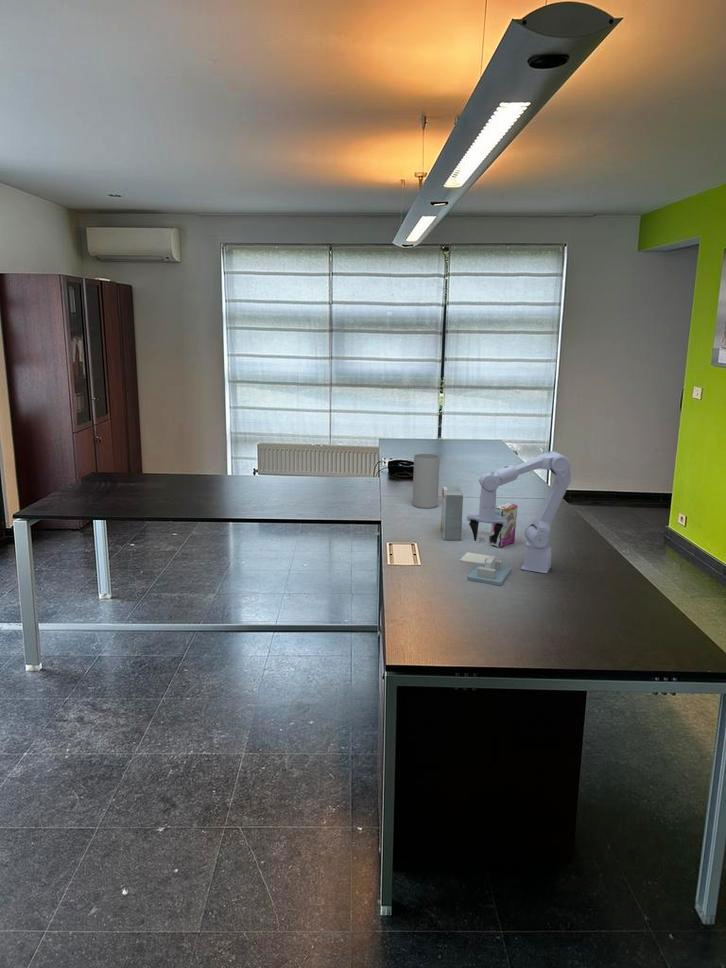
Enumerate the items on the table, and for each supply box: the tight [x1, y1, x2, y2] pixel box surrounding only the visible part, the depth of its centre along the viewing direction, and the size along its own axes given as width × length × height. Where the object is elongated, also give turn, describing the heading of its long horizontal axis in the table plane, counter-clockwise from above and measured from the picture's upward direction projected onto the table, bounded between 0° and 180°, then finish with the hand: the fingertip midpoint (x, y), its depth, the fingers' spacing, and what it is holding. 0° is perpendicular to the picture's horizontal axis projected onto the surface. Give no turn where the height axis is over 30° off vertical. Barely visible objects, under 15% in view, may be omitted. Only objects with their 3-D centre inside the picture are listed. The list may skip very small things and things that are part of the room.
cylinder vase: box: [412, 453, 441, 509], centre depth 334 cm, size 12×12×25 cm
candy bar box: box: [490, 502, 518, 549], centre depth 277 cm, size 11×5×16 cm, turn 134°
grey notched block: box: [475, 530, 494, 547], centre depth 248 cm, size 6×4×4 cm
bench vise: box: [466, 555, 512, 587], centre depth 243 cm, size 12×16×6 cm
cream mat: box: [459, 551, 491, 565], centre depth 260 cm, size 10×10×1 cm
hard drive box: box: [440, 485, 464, 541], centre depth 288 cm, size 16×8×20 cm, turn 178°
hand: (485, 541), depth 248 cm, fingers closed on grey notched block, 7 cm apart
